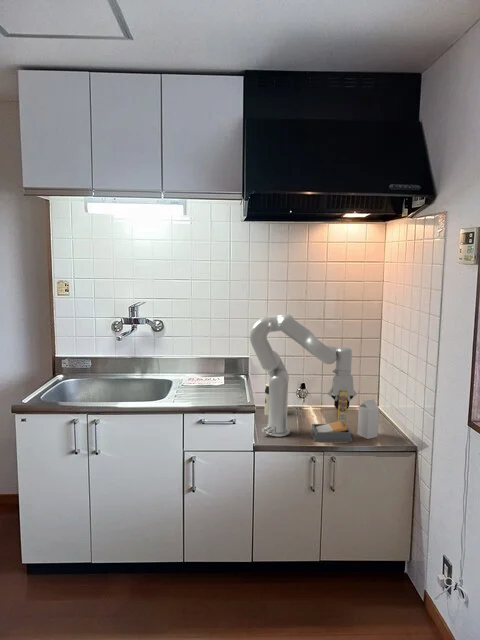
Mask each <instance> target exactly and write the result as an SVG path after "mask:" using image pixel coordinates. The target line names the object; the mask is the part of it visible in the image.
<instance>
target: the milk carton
mask: <svg viewBox="0 0 480 640" xmlns="http://www.w3.org/2000/svg"><path fill="white" fill-rule="evenodd" d="M379 412H380V407H379V406H378V405H377V403H376V402H375V398H371V399H365V400H363V403H361V404H360V405H359V406H358V414H357V415H358V416H357V418H358V421H357V435H358V436H360V437H362V438H364V439H367V440H369V439H373V438H377V437H379V416H380V415H379Z"/></svg>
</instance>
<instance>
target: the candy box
mask: <svg viewBox="0 0 480 640" xmlns="http://www.w3.org/2000/svg"><path fill="white" fill-rule="evenodd" d="M347 393H348V392H347V391H339V396H338V409H336V408H335V409H336V411H335V412H336V413H335V415H336V416H335V417H336V420H337V421H339V422H344V423H346V422H347V413H348V412H347V411H348V409H347Z"/></svg>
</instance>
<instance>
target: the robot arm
mask: <svg viewBox="0 0 480 640" xmlns="http://www.w3.org/2000/svg"><path fill="white" fill-rule="evenodd" d="M273 332H274V333H276V332H282V333H283V334H285V335H286V336H288V338H290V339H292V340H293V341H294V342H296V343H297V344H299V345H300V346H301V348H303V349H305V350H306V351H307V352H309V354H311V355H313V357H315V358H316V359H317V360H319V361H320V362H322V363H323V364H326V365H332V364H334V363H335V369H333V370H332V373H334V374H333V378H332V382H331V383H332V384H331V388H330V390H328V393H327V395H328V396H329V397H331V398H332V399H333V400H334V405H333V406H334V407H335V409H338V396H339V391H347V392H348V393H347V410H349V408H350V401H351V400H353V398H354V397H356V396H357V395H358V394H357V393H356V391H355V389H354V377H353V375H352V360H353V359H352V358H353V356H352V355H353V350H352V349H351V348H349V347H336V346H331V345H325V344H324V342H322V341H320V340H319V339H318V338H317V337H316V336H315V334H314V333H313V332H312V331H311V330H309V329H308V328H307V327H306V326H303V325H302V324H301V323H299V322H298V321H297V320H295V318H294V317H293V316H292V315H291V314H288V313H286V314H285V313H283V314H276V315H269V316H268V315H266V316H262V317H260V318H258V320H256V322H255V323H254V324H253V326H252V328H251V329H250V332H249V333H250V334H249V341H250V343H251V346H252V349H253V350H254V353H255V355H256V357H257V360H258V361H259V364H260V366H261V367H262V369H263V370H264V371H265V372H267V375H268V376H269V381H268V383H269V416H268V423H267V425H266V427H263V428H261V432H262V433H265V434H267V435H268V436H271V437H286V436H288V435H290V433H291V430H290V429H289V428H288V405H289V404H288V402H289V401H288V398H289V397H288V396H289V392H288V391H289V380H290V379H289V378H290V377H289V373H288V370H287V369H286V366H285V363H284V362H283V361H282V358H281V357H280V354H278V353H279V352H276V351H275V350H273V348H272V346H271V344H270V341H269V340H268V335H269V334H270V333H273Z"/></svg>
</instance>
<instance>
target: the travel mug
mask: <svg viewBox="0 0 480 640" xmlns="http://www.w3.org/2000/svg"><path fill="white" fill-rule="evenodd" d="M263 414H264V416H267V415H268V417H269V382H268V383H265V389H264V413H263Z"/></svg>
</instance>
